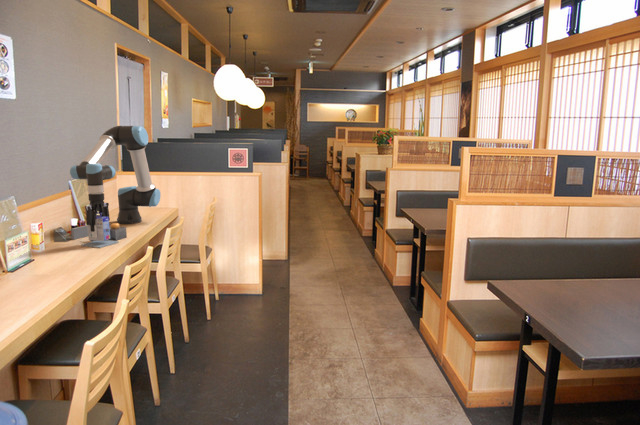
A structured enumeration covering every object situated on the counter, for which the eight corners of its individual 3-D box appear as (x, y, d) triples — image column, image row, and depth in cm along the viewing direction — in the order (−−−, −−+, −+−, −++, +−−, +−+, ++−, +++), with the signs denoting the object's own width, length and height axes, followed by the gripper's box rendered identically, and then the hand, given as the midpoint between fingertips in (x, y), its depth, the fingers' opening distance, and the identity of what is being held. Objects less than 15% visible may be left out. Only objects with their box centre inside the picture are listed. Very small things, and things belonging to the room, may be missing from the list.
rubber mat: (100, 240, 260) (100, 239, 260) (118, 242, 255) (118, 241, 255) (81, 245, 248) (81, 244, 248) (99, 248, 243) (99, 247, 243)
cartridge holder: (86, 235, 271) (85, 225, 270) (107, 238, 265) (106, 227, 264) (71, 239, 261) (70, 228, 260) (93, 242, 256) (92, 231, 255)
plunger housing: (115, 236, 269) (115, 226, 268) (126, 237, 266) (126, 227, 265) (104, 239, 262) (104, 228, 261) (115, 240, 259) (115, 230, 258)
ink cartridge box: (111, 238, 253) (108, 212, 250) (104, 241, 247) (101, 214, 244) (95, 237, 255) (92, 211, 252) (88, 240, 249) (85, 213, 246)
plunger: (115, 234, 266) (114, 222, 265) (121, 234, 265) (120, 223, 264) (109, 235, 262) (108, 224, 261) (115, 236, 261) (114, 225, 260)
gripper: (104, 190, 256) (107, 231, 261) (75, 195, 239) (79, 239, 243) (115, 191, 254) (118, 232, 258) (86, 195, 236) (90, 240, 241)
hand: (99, 235), depth 251 cm, fingers closed on ink cartridge box, 6 cm apart
